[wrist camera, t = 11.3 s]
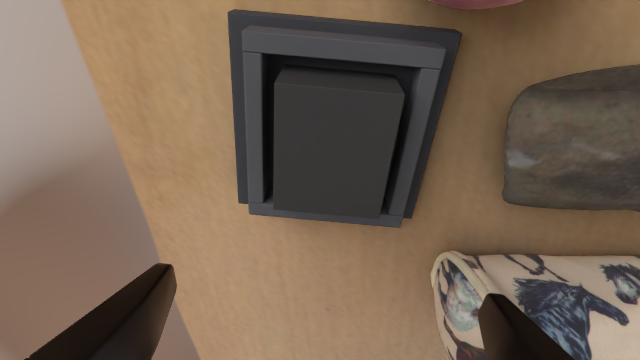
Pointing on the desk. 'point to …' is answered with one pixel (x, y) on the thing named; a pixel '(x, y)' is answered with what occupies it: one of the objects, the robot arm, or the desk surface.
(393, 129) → the black block
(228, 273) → the desk surface
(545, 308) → the pencil case
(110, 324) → the robot arm
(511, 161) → the decorative stone
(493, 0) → the onion
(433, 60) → the black frame
